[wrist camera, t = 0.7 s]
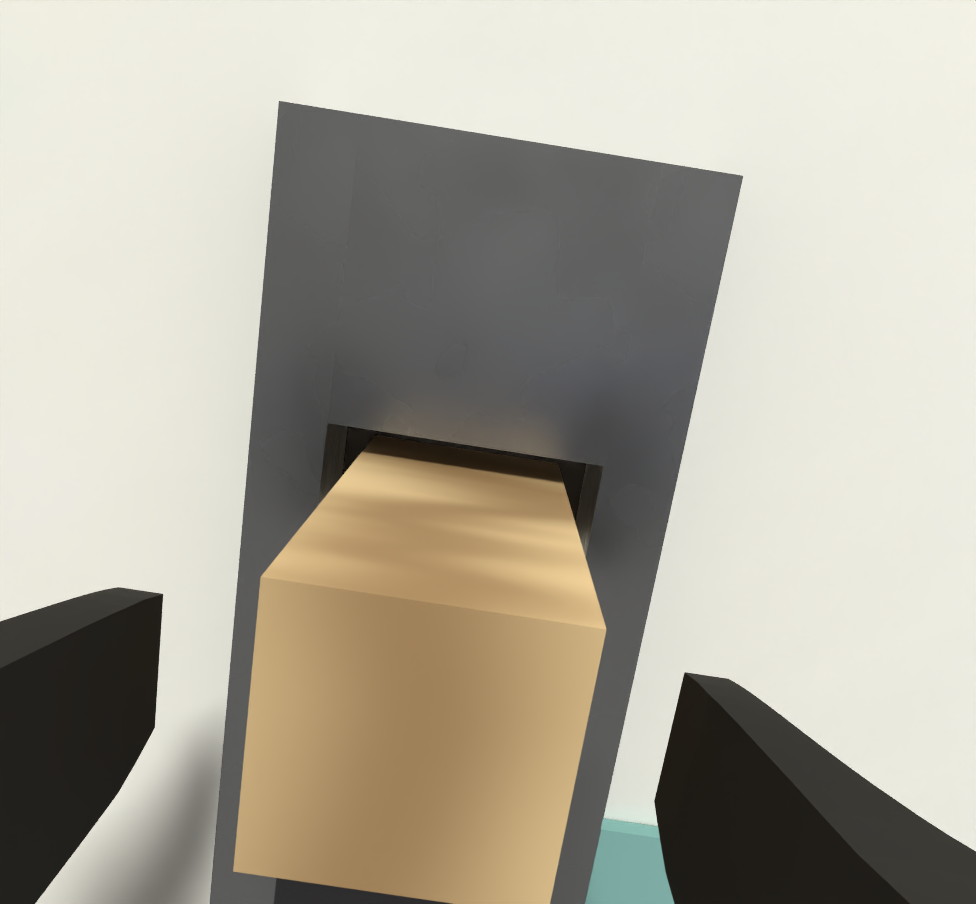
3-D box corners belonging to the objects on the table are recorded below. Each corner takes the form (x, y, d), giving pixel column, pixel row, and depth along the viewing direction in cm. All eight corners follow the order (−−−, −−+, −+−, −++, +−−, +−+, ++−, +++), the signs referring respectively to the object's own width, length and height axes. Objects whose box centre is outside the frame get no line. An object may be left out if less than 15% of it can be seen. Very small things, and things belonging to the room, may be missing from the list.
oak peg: (558, 463, 17) (606, 629, 9) (527, 631, 17) (547, 917, 10) (375, 435, 17) (260, 577, 9) (354, 605, 17) (232, 871, 10)
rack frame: (709, 190, 15) (745, 174, 13) (515, 1117, 21) (516, 1220, 18) (311, 126, 15) (277, 99, 13) (220, 1074, 20) (185, 1172, 18)
